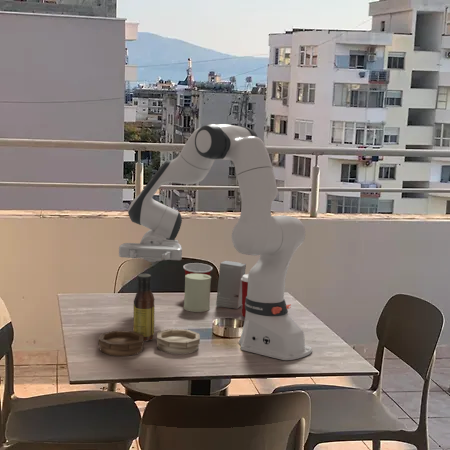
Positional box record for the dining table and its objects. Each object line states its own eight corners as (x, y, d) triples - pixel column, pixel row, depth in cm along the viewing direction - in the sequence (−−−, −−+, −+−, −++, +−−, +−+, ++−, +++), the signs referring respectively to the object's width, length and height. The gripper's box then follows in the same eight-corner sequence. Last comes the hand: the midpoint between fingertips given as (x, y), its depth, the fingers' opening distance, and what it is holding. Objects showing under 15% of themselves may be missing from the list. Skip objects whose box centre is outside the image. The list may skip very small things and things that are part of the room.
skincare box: (215, 306, 258) (218, 263, 256) (221, 301, 265) (223, 259, 263) (238, 309, 256) (241, 265, 254) (244, 304, 263) (246, 262, 260)
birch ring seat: (207, 348, 213) (208, 336, 213) (177, 357, 204) (177, 345, 204) (178, 337, 222) (179, 326, 221) (148, 346, 213) (148, 334, 212)
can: (209, 312, 251) (210, 278, 249) (182, 311, 251) (184, 277, 249) (210, 305, 260) (211, 272, 258) (184, 304, 260) (185, 271, 258)
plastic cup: (184, 301, 263) (185, 269, 261) (179, 294, 273) (181, 262, 271) (213, 301, 265) (215, 269, 263) (208, 294, 275) (209, 263, 274)
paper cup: (259, 320, 245) (262, 279, 242) (237, 317, 246) (239, 277, 244) (263, 314, 252) (265, 274, 250) (241, 311, 254) (243, 272, 251)
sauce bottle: (143, 334, 223) (145, 271, 220) (158, 339, 219) (160, 275, 216) (128, 338, 218) (130, 274, 215) (142, 343, 214) (144, 278, 211)
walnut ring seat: (151, 350, 209) (152, 338, 209) (118, 359, 200) (118, 347, 200) (124, 339, 217) (124, 328, 217) (90, 348, 208) (90, 336, 208)
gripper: (121, 237, 240) (116, 245, 226) (183, 240, 241) (181, 248, 227) (120, 255, 241) (115, 264, 227) (182, 258, 242) (180, 268, 228)
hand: (149, 256), depth 227 cm, fingers open, 8 cm apart
